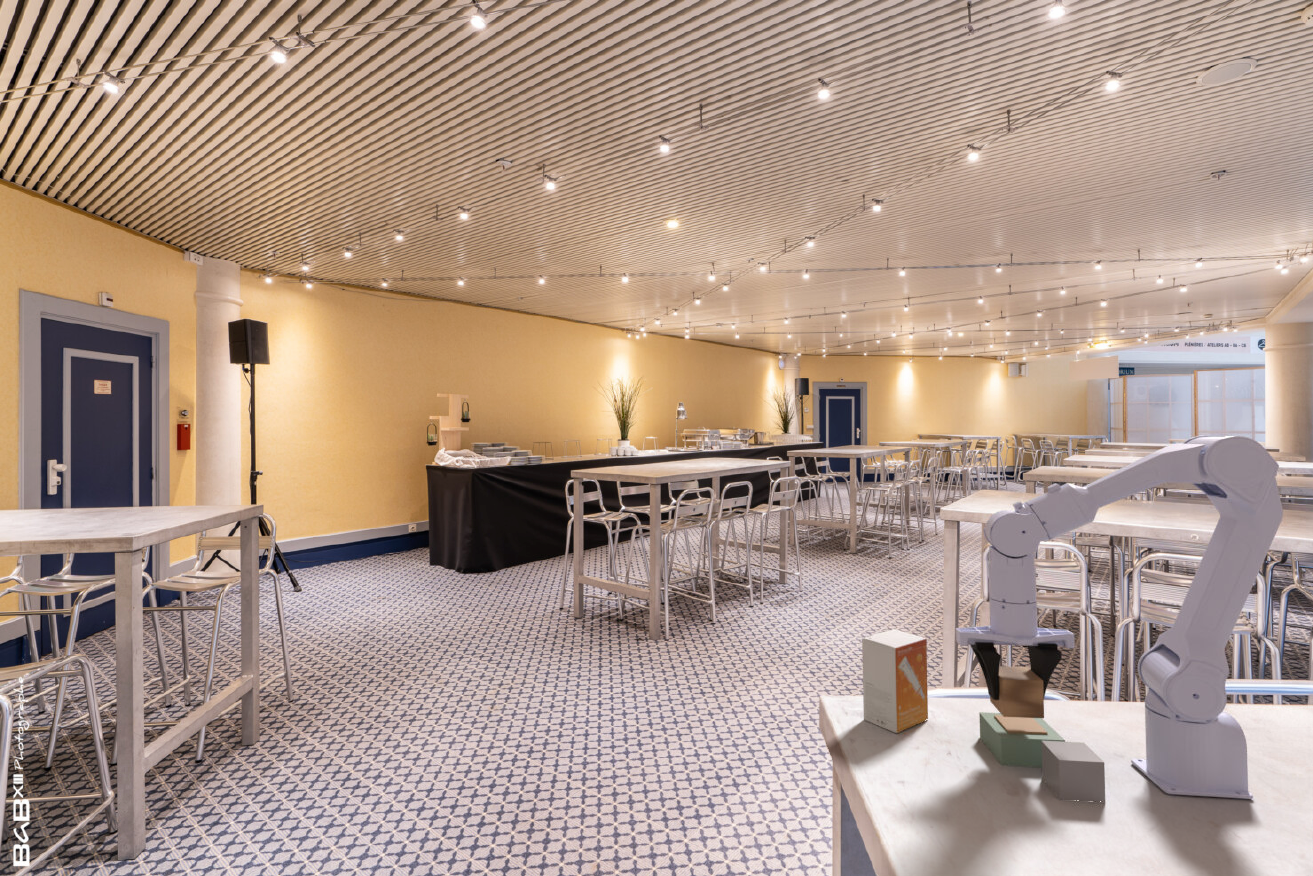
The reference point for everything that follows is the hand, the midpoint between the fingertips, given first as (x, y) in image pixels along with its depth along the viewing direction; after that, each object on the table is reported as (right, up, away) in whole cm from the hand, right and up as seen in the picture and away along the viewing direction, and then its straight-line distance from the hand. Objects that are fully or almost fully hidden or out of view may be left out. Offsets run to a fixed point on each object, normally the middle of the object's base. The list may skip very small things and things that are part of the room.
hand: (1015, 697), depth 88 cm
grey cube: (+3, -8, -8) cm, 12 cm away
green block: (+2, -9, +2) cm, 9 cm away
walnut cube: (0, -2, 0) cm, 2 cm away
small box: (-12, -9, +13) cm, 19 cm away
